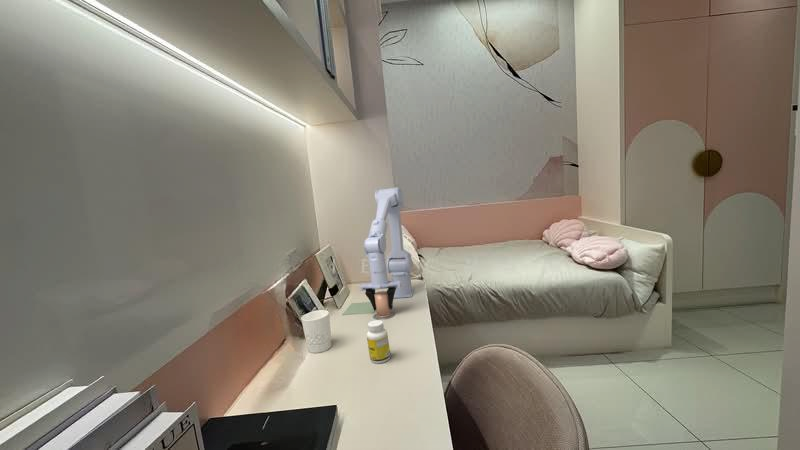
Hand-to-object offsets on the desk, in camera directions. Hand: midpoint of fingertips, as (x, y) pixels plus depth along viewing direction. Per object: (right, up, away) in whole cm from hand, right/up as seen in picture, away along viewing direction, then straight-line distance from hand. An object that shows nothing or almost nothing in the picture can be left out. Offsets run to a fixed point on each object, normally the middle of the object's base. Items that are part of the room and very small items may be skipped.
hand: (383, 308), depth 122 cm
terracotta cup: (0, -2, 0) cm, 2 cm away
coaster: (0, -2, 0) cm, 2 cm away
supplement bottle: (+1, -6, -31) cm, 32 cm away
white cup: (-18, -7, -20) cm, 27 cm away
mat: (-9, -2, +11) cm, 14 cm away
